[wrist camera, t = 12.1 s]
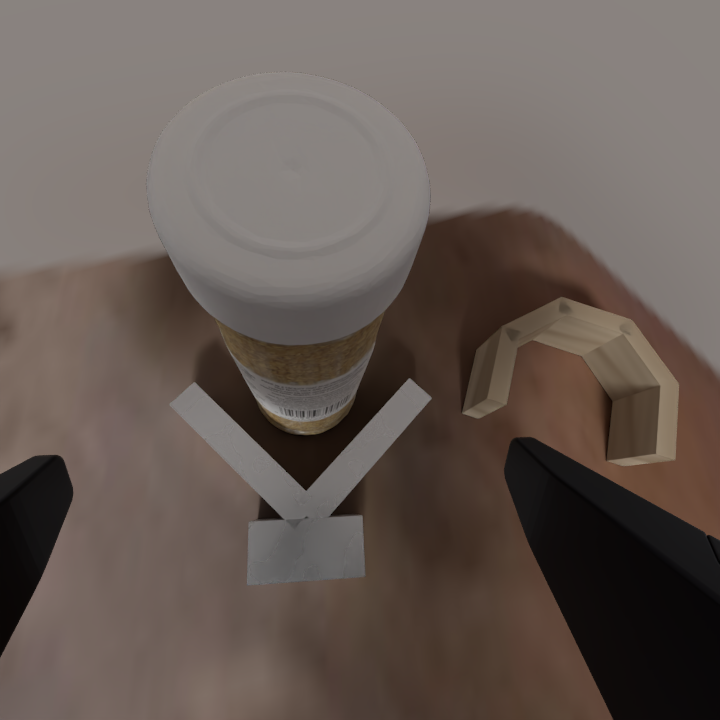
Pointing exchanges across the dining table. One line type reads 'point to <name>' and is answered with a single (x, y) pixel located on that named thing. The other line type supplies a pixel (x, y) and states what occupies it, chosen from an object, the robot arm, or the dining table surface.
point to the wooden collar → (607, 362)
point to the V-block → (302, 490)
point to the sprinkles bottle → (291, 231)
